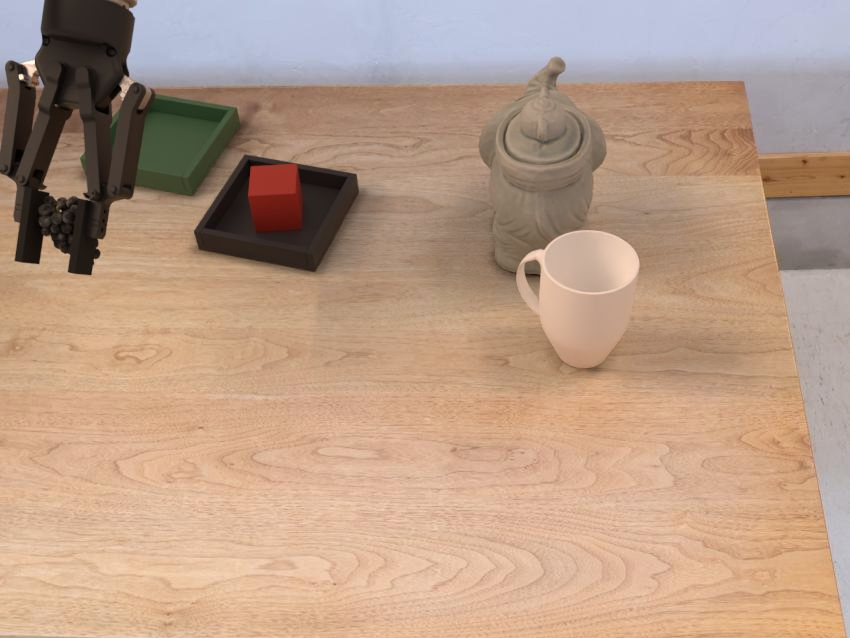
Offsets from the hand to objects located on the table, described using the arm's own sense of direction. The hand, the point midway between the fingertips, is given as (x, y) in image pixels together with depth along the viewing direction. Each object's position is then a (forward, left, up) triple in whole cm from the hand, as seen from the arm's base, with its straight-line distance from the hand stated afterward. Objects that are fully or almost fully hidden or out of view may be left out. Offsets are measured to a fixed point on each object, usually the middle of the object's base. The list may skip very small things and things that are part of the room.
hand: (53, 267), depth 100 cm
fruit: (0, +4, -3) cm, 5 cm away
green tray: (-9, +34, -13) cm, 37 cm away
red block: (+9, +26, -13) cm, 30 cm away
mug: (+44, +16, -14) cm, 49 cm away
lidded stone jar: (+37, +32, -14) cm, 51 cm away
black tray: (+9, +26, -13) cm, 30 cm away
